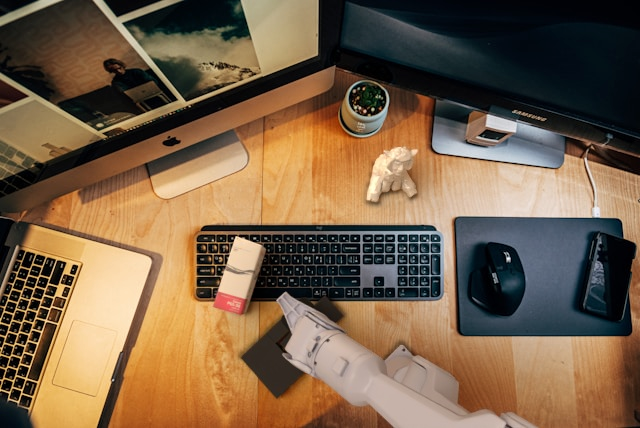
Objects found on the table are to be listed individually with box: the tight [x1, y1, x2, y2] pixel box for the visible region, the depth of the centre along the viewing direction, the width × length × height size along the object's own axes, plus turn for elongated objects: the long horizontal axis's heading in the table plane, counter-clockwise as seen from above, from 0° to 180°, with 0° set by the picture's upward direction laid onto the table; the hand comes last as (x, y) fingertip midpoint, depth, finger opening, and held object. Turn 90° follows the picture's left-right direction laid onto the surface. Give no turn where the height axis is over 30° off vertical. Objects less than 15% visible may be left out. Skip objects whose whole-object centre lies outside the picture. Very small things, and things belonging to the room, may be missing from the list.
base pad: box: [240, 319, 305, 400], centre depth 75 cm, size 9×9×3 cm
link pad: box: [279, 295, 344, 350], centre depth 76 cm, size 5×11×3 cm, turn 133°
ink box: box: [212, 236, 267, 316], centre depth 74 cm, size 9×5×12 cm
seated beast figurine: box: [365, 146, 419, 203], centre depth 76 cm, size 10×9×12 cm
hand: (311, 326), depth 76 cm, fingers closed on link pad, 4 cm apart
